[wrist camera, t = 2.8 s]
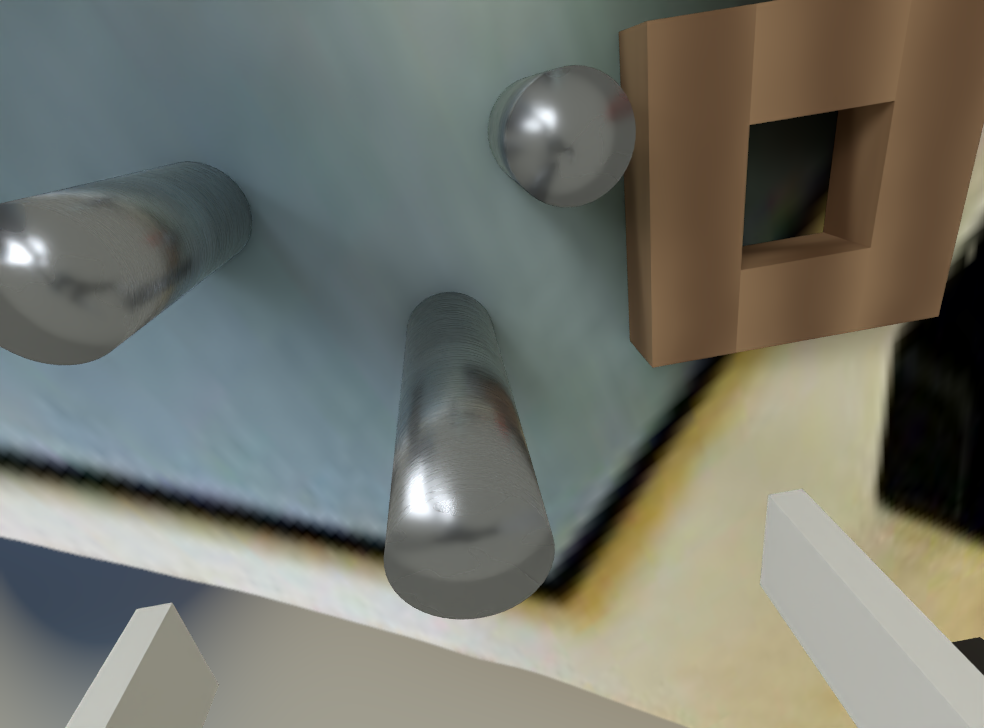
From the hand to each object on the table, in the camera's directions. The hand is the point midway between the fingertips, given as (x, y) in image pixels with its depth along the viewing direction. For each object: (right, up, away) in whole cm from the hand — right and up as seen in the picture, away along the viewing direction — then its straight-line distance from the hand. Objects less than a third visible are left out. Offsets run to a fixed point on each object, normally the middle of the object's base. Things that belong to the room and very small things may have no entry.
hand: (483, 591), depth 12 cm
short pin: (+2, +15, +10) cm, 18 cm away
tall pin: (-2, +7, +13) cm, 15 cm away
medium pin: (-12, +11, +10) cm, 19 cm away
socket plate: (+12, +13, +12) cm, 21 cm away
